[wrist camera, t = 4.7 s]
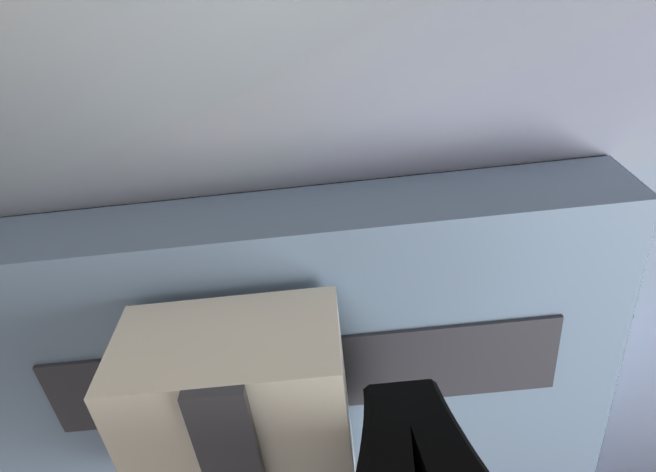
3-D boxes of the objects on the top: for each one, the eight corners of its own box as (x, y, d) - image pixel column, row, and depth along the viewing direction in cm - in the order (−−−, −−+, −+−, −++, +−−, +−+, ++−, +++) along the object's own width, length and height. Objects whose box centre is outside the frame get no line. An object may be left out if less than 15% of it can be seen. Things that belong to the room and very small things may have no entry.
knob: (335, 285, 10) (342, 384, 8) (354, 457, 13) (364, 566, 11) (125, 306, 10) (78, 409, 8) (185, 472, 13) (162, 584, 11)
